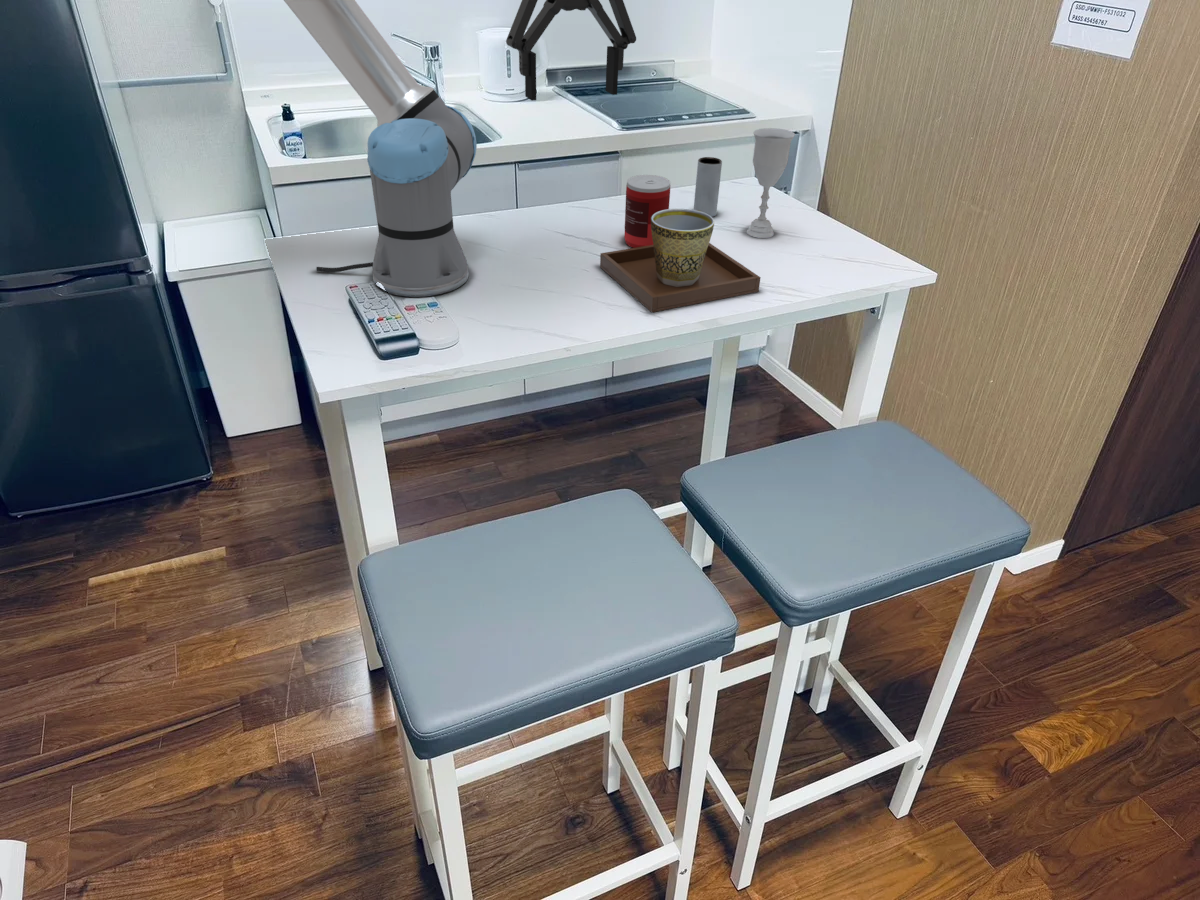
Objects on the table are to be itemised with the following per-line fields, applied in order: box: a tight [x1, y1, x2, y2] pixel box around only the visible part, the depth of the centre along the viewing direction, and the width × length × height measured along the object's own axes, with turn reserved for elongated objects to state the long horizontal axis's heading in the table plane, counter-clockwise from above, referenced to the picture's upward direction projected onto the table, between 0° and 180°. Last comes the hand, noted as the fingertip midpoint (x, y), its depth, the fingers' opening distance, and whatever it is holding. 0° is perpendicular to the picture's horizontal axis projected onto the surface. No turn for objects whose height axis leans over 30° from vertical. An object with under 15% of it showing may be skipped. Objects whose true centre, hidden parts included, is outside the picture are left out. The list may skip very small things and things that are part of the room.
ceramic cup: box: [651, 208, 715, 287], centre depth 136 cm, size 13×10×10 cm
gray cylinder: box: [693, 156, 723, 218], centre depth 161 cm, size 4×4×10 cm
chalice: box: [746, 127, 796, 239], centre depth 151 cm, size 7×7×18 cm
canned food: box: [623, 174, 671, 248], centre depth 148 cm, size 8×8×11 cm
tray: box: [599, 242, 761, 313], centre depth 138 cm, size 20×19×2 cm
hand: (571, 95), depth 130 cm, fingers open, 13 cm apart
